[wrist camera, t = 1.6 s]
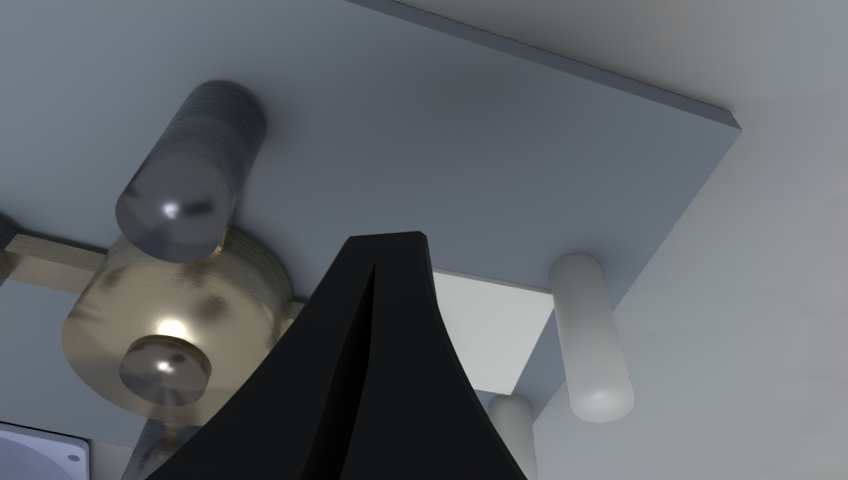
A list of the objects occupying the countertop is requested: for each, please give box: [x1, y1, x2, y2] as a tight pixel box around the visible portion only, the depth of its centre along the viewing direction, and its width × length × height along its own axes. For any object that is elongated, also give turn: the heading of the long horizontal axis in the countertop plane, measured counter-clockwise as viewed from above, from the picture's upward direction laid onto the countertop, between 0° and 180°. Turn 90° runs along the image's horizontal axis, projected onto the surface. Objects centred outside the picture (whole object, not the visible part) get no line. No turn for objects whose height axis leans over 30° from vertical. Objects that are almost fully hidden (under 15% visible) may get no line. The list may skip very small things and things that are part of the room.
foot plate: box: [0, 0, 742, 448], centre depth 22 cm, size 21×24×1 cm
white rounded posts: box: [432, 253, 635, 480], centre depth 21 cm, size 9×6×5 cm
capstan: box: [0, 84, 305, 480], centre depth 20 cm, size 16×16×4 cm
